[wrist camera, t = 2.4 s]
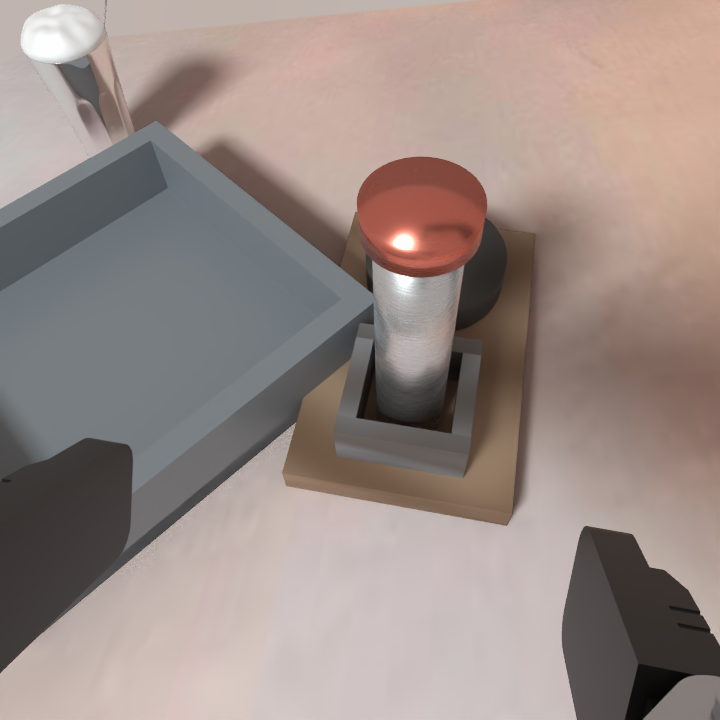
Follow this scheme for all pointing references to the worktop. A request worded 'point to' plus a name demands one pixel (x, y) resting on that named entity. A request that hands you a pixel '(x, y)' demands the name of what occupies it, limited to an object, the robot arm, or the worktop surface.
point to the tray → (161, 323)
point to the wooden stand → (460, 410)
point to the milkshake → (79, 73)
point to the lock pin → (417, 278)
